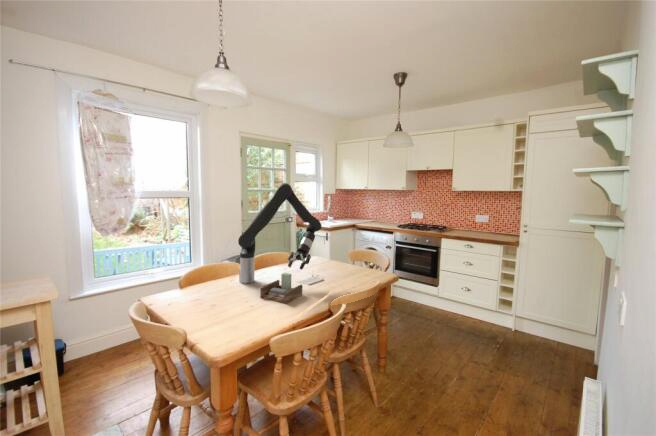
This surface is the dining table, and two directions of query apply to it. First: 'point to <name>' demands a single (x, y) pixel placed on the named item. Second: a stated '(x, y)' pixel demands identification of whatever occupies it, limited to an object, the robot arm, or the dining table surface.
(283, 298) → the offcut long
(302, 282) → the pale grey flat slab
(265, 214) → the robot arm
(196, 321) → the dining table surface
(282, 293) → the offcut short
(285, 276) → the grey-green block
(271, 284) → the rack
